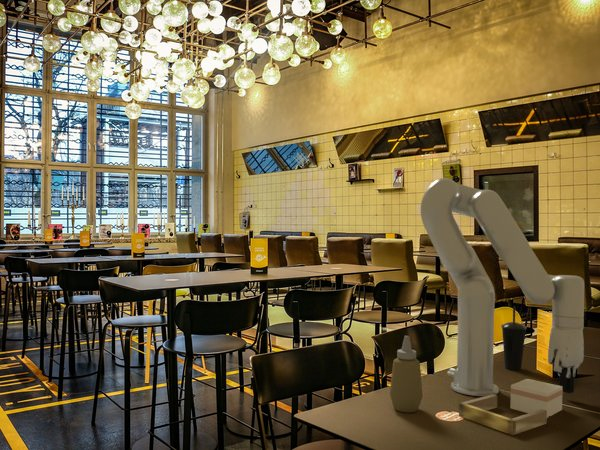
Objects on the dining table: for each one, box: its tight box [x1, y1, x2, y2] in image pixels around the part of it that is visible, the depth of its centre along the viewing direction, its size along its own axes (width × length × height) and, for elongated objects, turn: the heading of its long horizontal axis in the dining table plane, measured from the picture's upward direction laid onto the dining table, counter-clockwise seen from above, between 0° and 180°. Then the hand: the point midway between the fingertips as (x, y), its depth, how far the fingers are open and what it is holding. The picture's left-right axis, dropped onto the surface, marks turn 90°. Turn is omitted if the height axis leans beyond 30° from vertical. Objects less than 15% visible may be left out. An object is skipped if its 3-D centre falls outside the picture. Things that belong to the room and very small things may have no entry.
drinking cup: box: [500, 305, 528, 371], centre depth 177 cm, size 8×8×20 cm
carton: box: [509, 378, 564, 419], centre depth 138 cm, size 9×9×6 cm
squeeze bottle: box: [389, 335, 423, 413], centre depth 136 cm, size 8×8×18 cm
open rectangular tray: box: [458, 394, 548, 436], centre depth 130 cm, size 14×13×3 cm
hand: (566, 391), depth 146 cm, fingers closed
